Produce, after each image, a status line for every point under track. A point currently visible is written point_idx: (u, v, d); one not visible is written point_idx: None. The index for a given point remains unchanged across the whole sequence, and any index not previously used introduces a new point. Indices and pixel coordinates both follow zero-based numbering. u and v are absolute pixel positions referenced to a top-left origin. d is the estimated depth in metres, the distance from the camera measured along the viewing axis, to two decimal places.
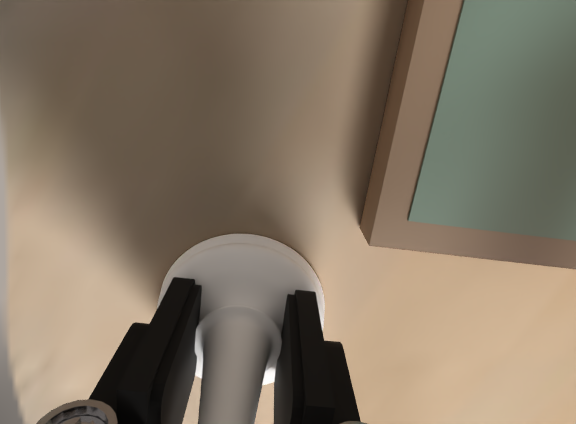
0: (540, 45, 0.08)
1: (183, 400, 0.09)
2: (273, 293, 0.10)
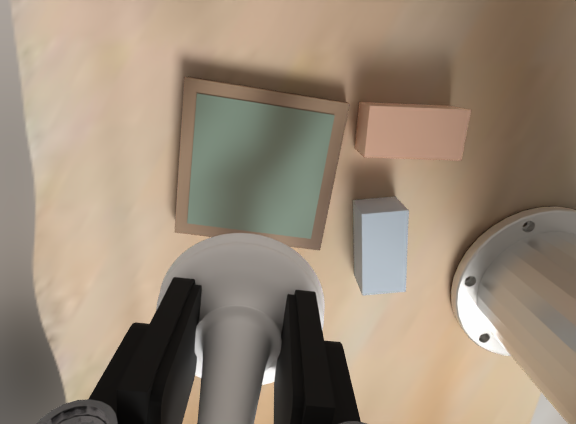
0: (222, 165, 0.25)
1: (183, 400, 0.09)
2: (273, 292, 0.10)
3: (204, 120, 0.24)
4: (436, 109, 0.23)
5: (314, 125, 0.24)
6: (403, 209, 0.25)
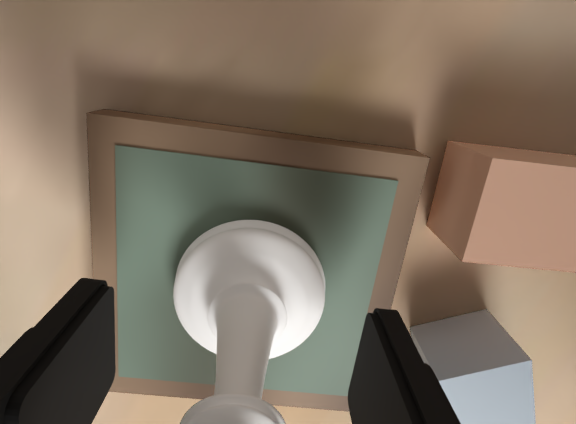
0: None
1: (84, 410, 0.09)
2: (278, 272, 0.11)
3: (135, 197, 0.12)
4: None
5: (356, 200, 0.12)
6: (519, 357, 0.13)
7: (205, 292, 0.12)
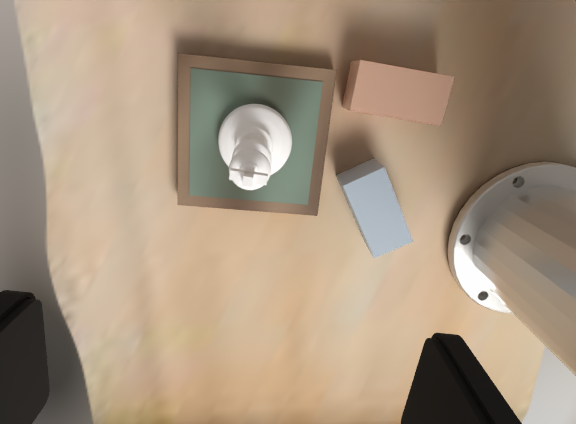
0: None
1: None
2: (268, 125, 0.25)
3: (199, 94, 0.25)
4: (422, 72, 0.24)
5: (303, 92, 0.25)
6: (380, 168, 0.26)
7: (234, 136, 0.25)
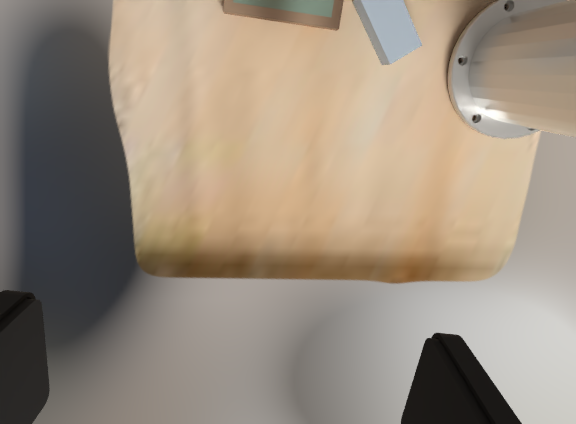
0: None
1: None
2: None
3: None
4: None
5: None
6: None
7: None
